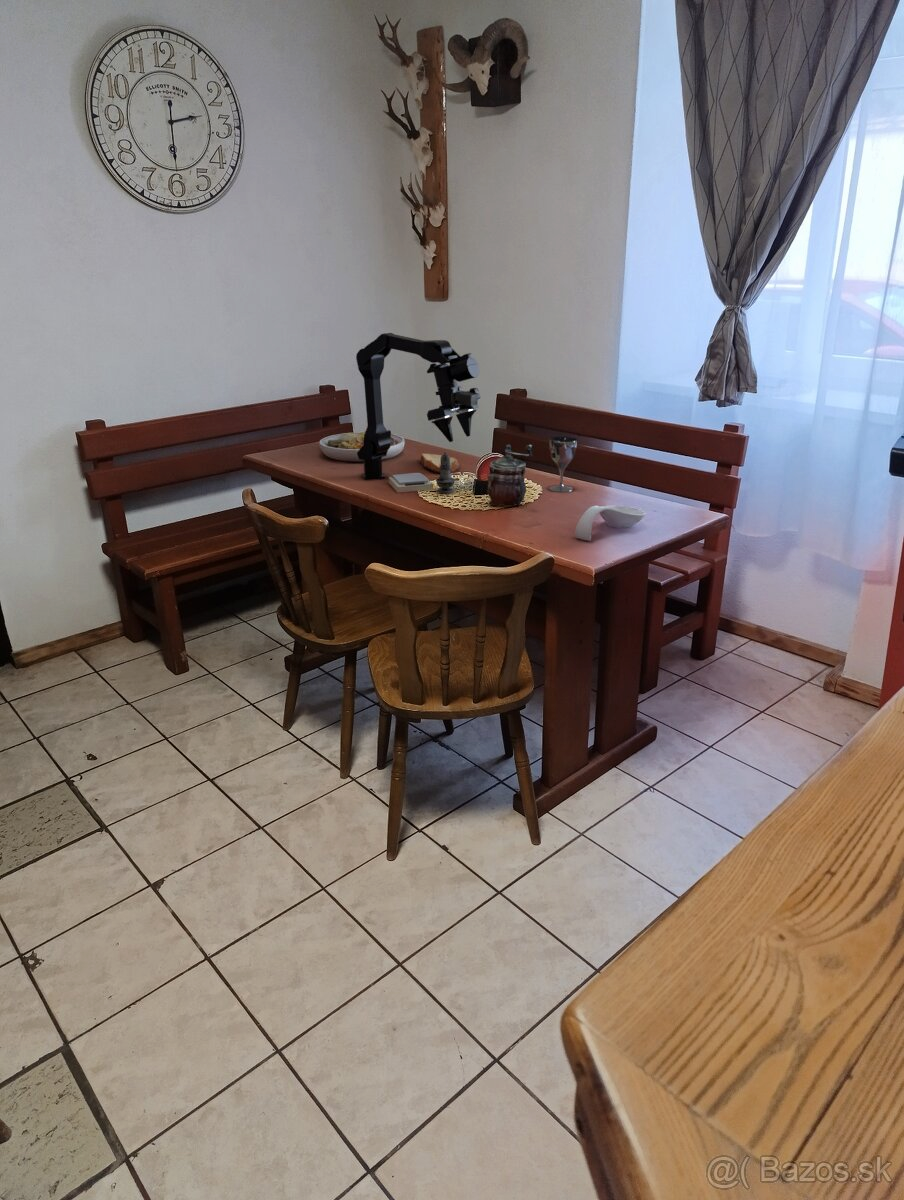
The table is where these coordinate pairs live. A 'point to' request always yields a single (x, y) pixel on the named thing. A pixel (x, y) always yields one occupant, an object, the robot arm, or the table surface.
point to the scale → (410, 482)
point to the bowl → (355, 446)
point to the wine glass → (562, 457)
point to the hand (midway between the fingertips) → (460, 439)
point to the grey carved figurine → (445, 476)
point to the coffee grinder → (507, 479)
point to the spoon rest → (608, 518)
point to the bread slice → (437, 462)
